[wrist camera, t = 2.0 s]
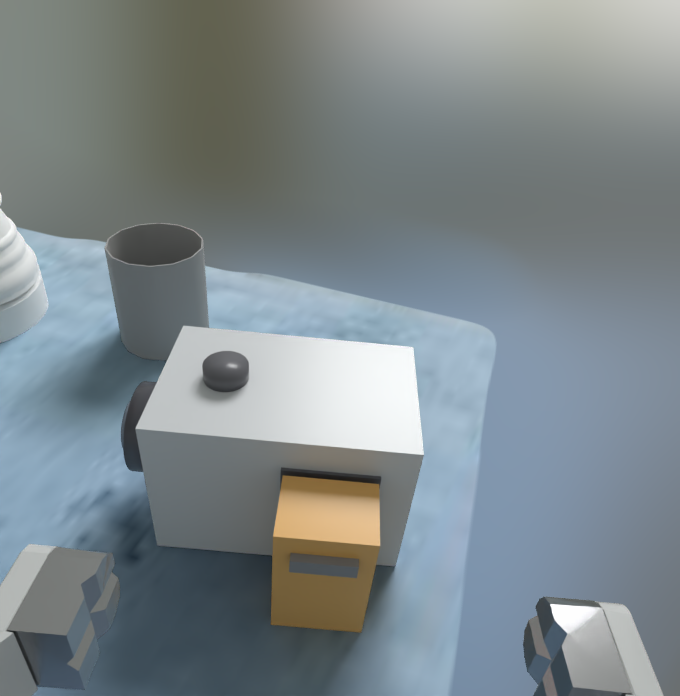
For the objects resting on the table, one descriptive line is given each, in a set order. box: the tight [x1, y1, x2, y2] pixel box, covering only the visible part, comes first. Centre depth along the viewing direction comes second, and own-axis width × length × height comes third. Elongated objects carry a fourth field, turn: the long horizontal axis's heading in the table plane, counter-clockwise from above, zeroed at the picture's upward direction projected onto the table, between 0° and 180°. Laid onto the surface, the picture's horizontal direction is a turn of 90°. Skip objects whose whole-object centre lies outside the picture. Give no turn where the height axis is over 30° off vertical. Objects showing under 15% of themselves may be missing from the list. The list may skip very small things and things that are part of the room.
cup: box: [105, 223, 209, 361], centre depth 53 cm, size 8×8×10 cm
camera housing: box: [121, 326, 424, 566], centre depth 38 cm, size 10×19×12 cm, turn 87°
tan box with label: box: [271, 475, 380, 632], centre depth 33 cm, size 4×6×9 cm
